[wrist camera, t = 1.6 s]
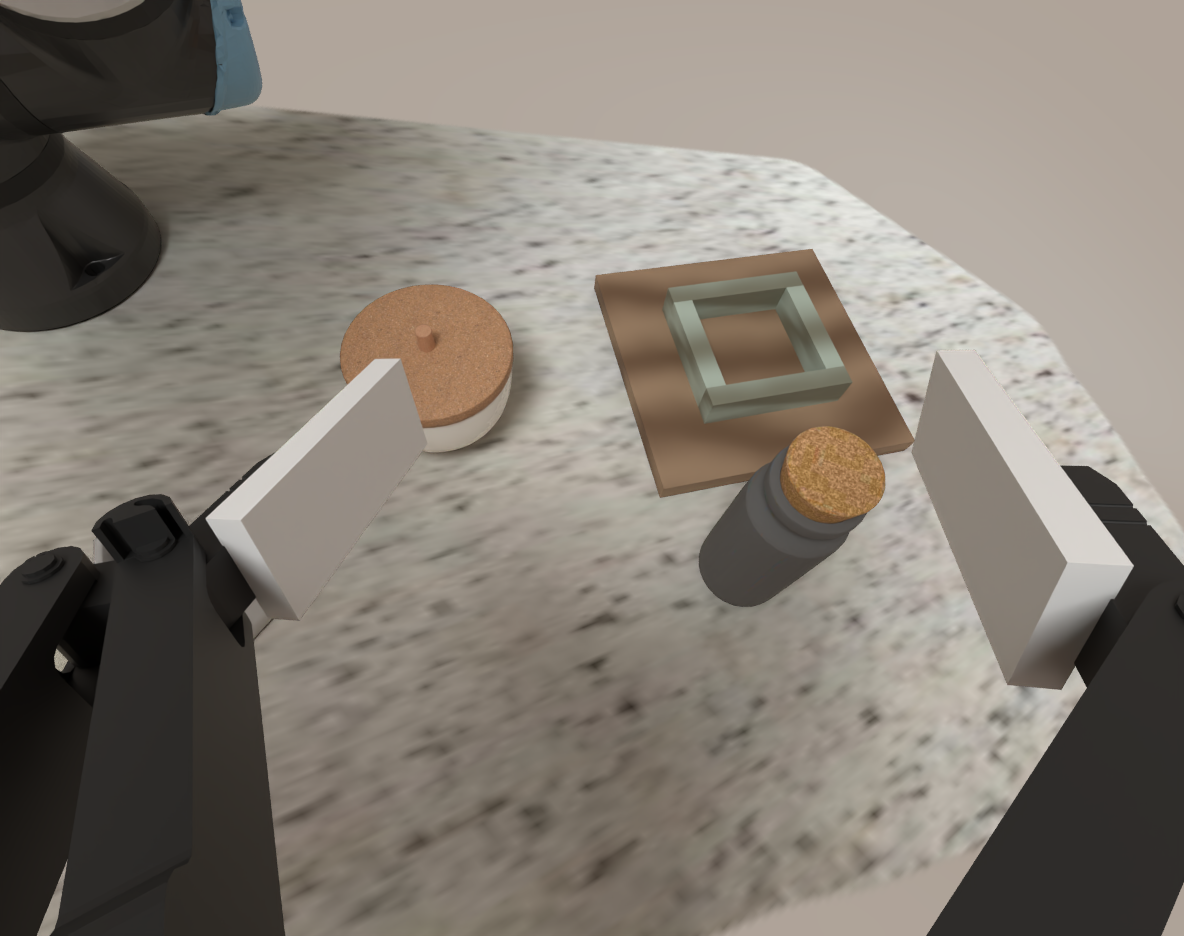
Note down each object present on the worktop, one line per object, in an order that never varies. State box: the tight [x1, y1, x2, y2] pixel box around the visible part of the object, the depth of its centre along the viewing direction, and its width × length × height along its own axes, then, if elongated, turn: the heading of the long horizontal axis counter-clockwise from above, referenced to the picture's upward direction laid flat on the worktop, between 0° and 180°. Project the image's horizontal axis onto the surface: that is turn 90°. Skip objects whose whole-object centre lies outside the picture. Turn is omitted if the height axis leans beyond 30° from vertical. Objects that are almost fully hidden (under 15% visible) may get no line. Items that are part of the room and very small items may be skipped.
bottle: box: [699, 426, 885, 607], centre depth 35 cm, size 6×6×15 cm
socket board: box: [594, 249, 914, 498], centre depth 47 cm, size 20×20×4 cm
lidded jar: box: [340, 285, 513, 452], centre depth 41 cm, size 11×11×9 cm
